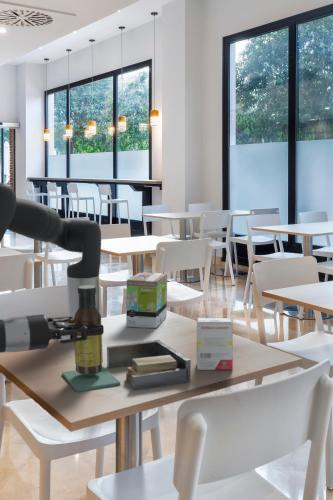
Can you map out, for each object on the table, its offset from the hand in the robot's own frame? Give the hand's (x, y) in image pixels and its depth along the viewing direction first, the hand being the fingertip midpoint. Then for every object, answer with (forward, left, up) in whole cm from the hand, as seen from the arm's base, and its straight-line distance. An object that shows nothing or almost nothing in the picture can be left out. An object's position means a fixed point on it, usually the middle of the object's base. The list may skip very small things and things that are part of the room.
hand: (98, 325), depth 136 cm
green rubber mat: (+1, -2, -12) cm, 12 cm away
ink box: (+5, +28, -12) cm, 31 cm away
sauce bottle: (0, -2, -11) cm, 11 cm away
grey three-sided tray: (+3, +11, -12) cm, 16 cm away
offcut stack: (+7, +11, -12) cm, 18 cm away
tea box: (-42, +30, -12) cm, 53 cm away
